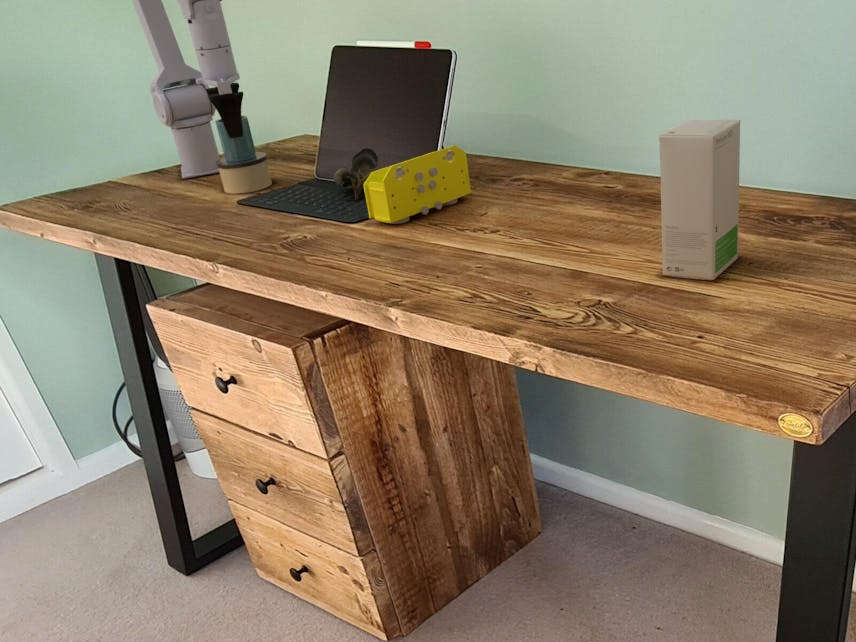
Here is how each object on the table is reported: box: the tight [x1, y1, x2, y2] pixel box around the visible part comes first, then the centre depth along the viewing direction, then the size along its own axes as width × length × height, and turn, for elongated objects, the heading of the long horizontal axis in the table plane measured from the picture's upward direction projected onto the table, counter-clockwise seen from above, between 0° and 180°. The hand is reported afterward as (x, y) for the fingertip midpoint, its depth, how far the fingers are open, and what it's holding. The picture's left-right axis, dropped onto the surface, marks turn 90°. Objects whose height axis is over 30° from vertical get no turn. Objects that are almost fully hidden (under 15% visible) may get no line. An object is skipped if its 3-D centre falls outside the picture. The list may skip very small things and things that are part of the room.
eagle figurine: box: [333, 147, 379, 201], centre depth 146 cm, size 8×7×9 cm
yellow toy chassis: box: [363, 144, 472, 225], centre depth 133 cm, size 16×6×8 cm, turn 137°
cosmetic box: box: [658, 119, 741, 281], centre depth 99 cm, size 8×7×16 cm
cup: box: [215, 115, 257, 162], centre depth 155 cm, size 5×5×6 cm
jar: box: [216, 151, 273, 195], centre depth 158 cm, size 9×9×5 cm
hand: (234, 133), depth 154 cm, fingers open, 7 cm apart
